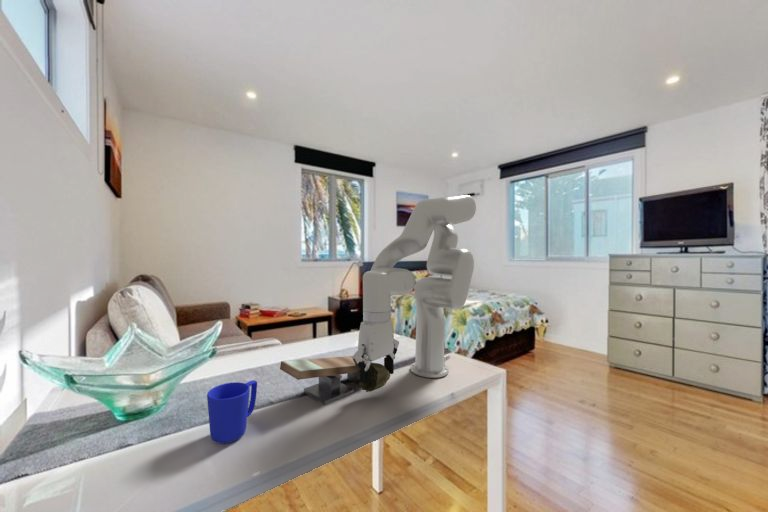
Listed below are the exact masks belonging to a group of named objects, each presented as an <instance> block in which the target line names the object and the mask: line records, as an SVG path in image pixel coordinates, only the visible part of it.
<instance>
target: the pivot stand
mask: <svg viewBox="0 0 768 512" xmlns="http://www.w3.org/2000/svg"><path fill="white" fill-rule="evenodd" d="M358 375H359V374H358V372H355V373H348V374H346V376H347V377H346V378H347V379H346V380H348V381H350V382H352V383H354V384H356V385H359V383H361V381H360V379H358V378H357V376H358ZM359 386H360V385H359ZM303 393H305V394H307V395H308V396H309V397H311V398H312V399H315V400H316V401H317V402H319V403H321V404H322V405H329V404H331V403H333V402H336V401H338V400H340V399H343V398H345V397H348V396H350V395H353V394H355V389H354V388H352V387H350V386H349V385H346V384H344V383H343V382H341V379H339V378H337V377H335V376H333V375H332V376H324V377H318V383H316V384H313V385H310V386H307V387H304V388H303Z"/></svg>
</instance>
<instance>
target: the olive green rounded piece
mask: <svg viewBox="0 0 768 512" xmlns="http://www.w3.org/2000/svg"><path fill="white" fill-rule="evenodd" d="M365 364H366V363H364V365H365ZM368 370H370V385H366V384H364V383H362V382H361V383H359V387H360V388H361V390H363V391H365V392H366V393H368V392H369V393H371V392H374V391H375V390H378V389H381V388H383V387H384V386H386V384H387V382H388V381H389V380H390V379H391V374H390V371H389V370H388V369H387V368H385V367H384V364H381V363H379V362H372V363H371V364H370V366H369V368H368ZM358 374H359V375H358V376H357V378H358V379H360V369H359V370H358Z"/></svg>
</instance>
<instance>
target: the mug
mask: <svg viewBox="0 0 768 512" xmlns="http://www.w3.org/2000/svg"><path fill="white" fill-rule="evenodd" d="M250 387H251V388H250ZM257 391H258V380H255V379H253V380H250V381H247V382H238V381H237V382H227V383H223V384H219V385H217V386H215V387H213V388H211V389H210V390H209V391H207V394H206V399H207V408H208V410H207V411H208V423H209V435H210V438H211V440H212V441H213V442H214V443H217V444H229V443H232V442H234V441H235V442H236V441H237V440H239V439H240V438H241V437H242V436H243V435H244V434H245V432H246V429H247V424H248V421H247V420H248V418H249V416H251V415H252V413H253V412H254V409H255V407H256V406H255V405H256V402H257V401H256V400H257Z"/></svg>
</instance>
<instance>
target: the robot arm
mask: <svg viewBox="0 0 768 512" xmlns="http://www.w3.org/2000/svg"><path fill="white" fill-rule="evenodd" d="M476 211H477V204H476V201H475V200H474V198H473V196H471V195H470V194H469V195H468V194H463V195H451V196H443V197H442V196H440V197H436V198H427V199H421V200H419V201H418V202H417V203H416V204H415V205H414V208H413V209H412V212H411V214H410V216H409V218H408V220H407V222H406V224H405V226H404V228H403V231H402V233H401V234H400V235H399V236H398V237H396V238H395V239H394V240H392V241H391V242H390V243H389V244H388V245H387V246H385V247H384V248H383V249H382V250H381V251H380V253H378V255H377V256H376V259H375V260H374V262H373V264H372V266H371V268H370V270H368V271H365V272H364V273H363V275H362V315H363V317H362V321H361V322H360V326H359V332H358V339H357V340H358V341H357V345H358V346H357V351H355V353H354V354H353V355H351V356H352V359H353V361H354V362H355V365H356V366H357V367H358V368H360V381H361V382H362V383H364V384H366V385H370V370H368V368H369V366H370V364H371V362H372V363H373V362H374V361H376V360H378V359H381V358H383V366H384V367H385V368H387V369H388V370H389V371H390V375H393V374H394V369H395V368H394V367H395V365H394V364H395V363H394V360H395V359H396V354H397V353H398V349H399V346H400V345H399V344H400V341H399V340H397V339H395V335H394V334H395V333H394V325H393V321H392V319H391V317H392V307H391V304H392V303H391V299H392V298H391V297H392V296H405V295H407V294H410V293H411V292H413V290H414V300H415V307H416V326H415V327H416V328H415V357H414V358H415V361H414V362H413V363H412V364H410V371H411V372H412V373H413V374H414V375H417V376H419V377H423V378H428V379H429V378H430V379H437V378H442V377H445V376H447V375H448V374H449V367H448V366H447V365H445V362H447V361H449V360H450V359H451V356H450V354H448V353H447V354H445V339H446V338H445V336H446V335H445V334H446V318H445V314H444V312H443V309H447V310H454V311H458V310H460V309H462V308H463V307H464V306H465V304H466V301H467V297H468V294H469V292H470V291H469V290H470V287H471V286H470V285H471V282H472V279H473V278H472V277H473V273H474V267H475V260H474V255H473V254H472V252H471V251H470V250H468V249H466V248H458V247H457V246H458V242H459V235H458V233H457V231H456V229H455V228H454V226H453V225H457V224H462V223H464V222H469V221H470V220H472V219H473V218H474V217H475V215H476V213H477V212H476ZM432 234H433V238H432V242H431V246H430V250H429V253H428V257H427V260H426V269H427V271H428V272H429V273H430V274H432V275H434V277H433V276H425V277H421V278H420V279H418V280H416V277H415V275H414V273H413V272H412V271H410V270H409V269H406V268H398V267H394V266H395V265H396V264H397V263H398V262H400V261H401V260H403V259H405V258H407V257H409V256H412V255H415V254H417V253H419V252H421V251H423V250H424V249H425V248H426V247H427V245H428V244H429V240H430V239H431V237H432ZM435 275H436V277H435ZM437 276H444V277H451V278H443V277H437ZM416 281H417V282H416ZM360 358H361V360H360ZM365 360H367V362H366V364H365V365H364V362H365Z"/></svg>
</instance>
